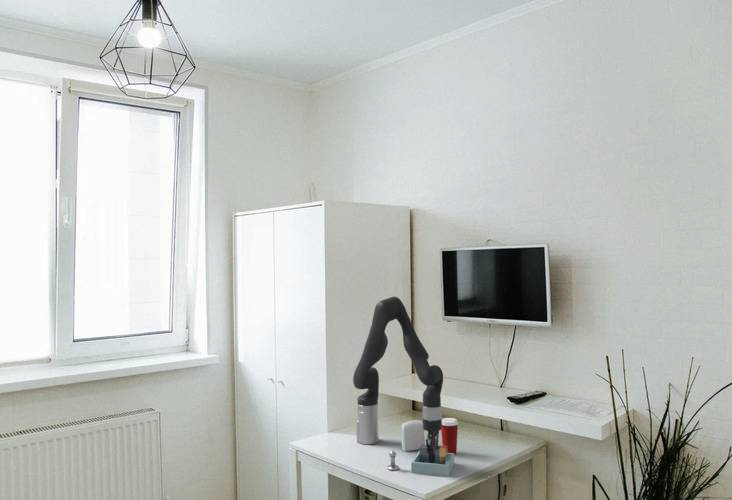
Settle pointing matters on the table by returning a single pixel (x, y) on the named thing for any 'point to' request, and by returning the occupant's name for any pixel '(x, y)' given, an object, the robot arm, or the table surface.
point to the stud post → (392, 462)
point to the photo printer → (412, 435)
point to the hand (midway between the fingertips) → (433, 460)
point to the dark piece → (439, 455)
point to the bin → (433, 466)
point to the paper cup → (449, 434)
